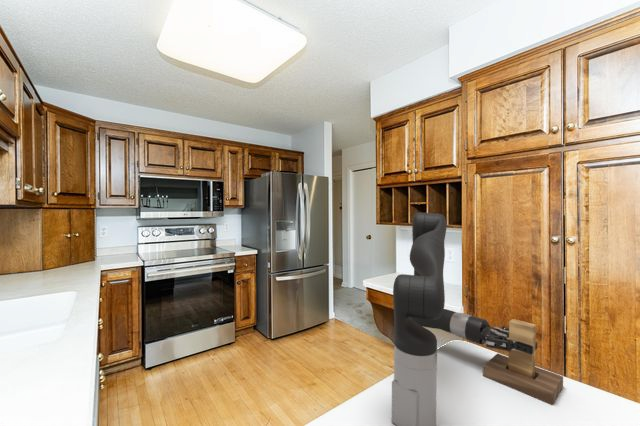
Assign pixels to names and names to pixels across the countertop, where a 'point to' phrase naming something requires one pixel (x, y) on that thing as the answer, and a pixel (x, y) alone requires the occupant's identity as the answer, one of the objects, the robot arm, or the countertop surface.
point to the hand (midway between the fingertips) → (534, 348)
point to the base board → (524, 379)
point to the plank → (519, 359)
